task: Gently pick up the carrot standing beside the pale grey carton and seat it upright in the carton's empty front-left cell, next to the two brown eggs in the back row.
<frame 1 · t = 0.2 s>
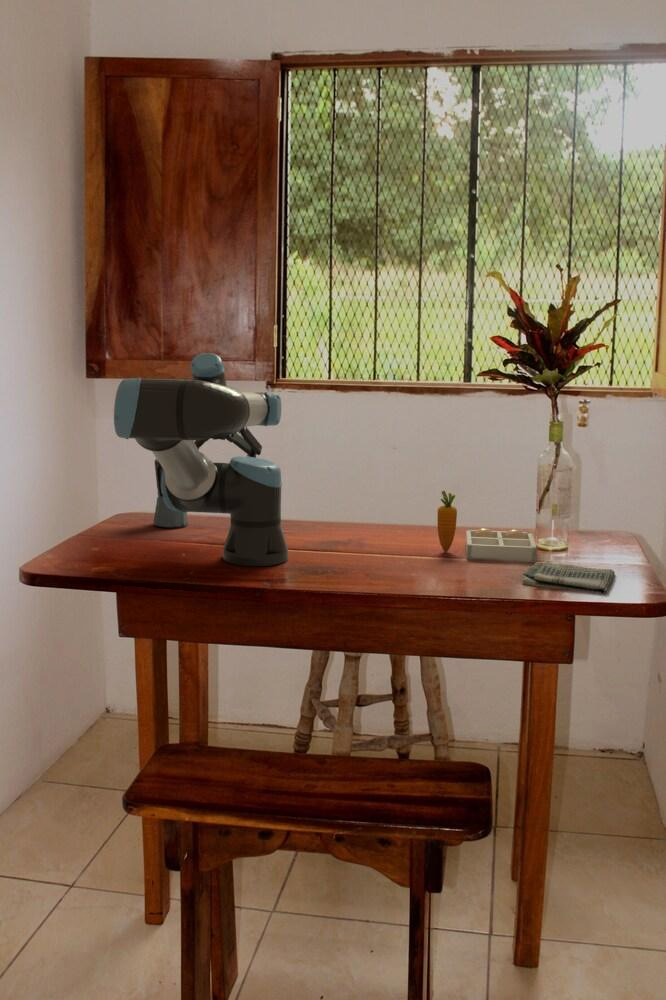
hand: (225, 470, 272), 15 cm above the table, tool tilted 35°, fingers open, 13 cm apart
carton: (499, 552, 255), on the table
brown egg right: (514, 547, 258), resting on carton
dish towel: (568, 583, 232), on the table
carrot: (445, 553, 255), on the table
brown egg left: (483, 546, 259), resting on carton
moka pot: (170, 526, 277), on the table
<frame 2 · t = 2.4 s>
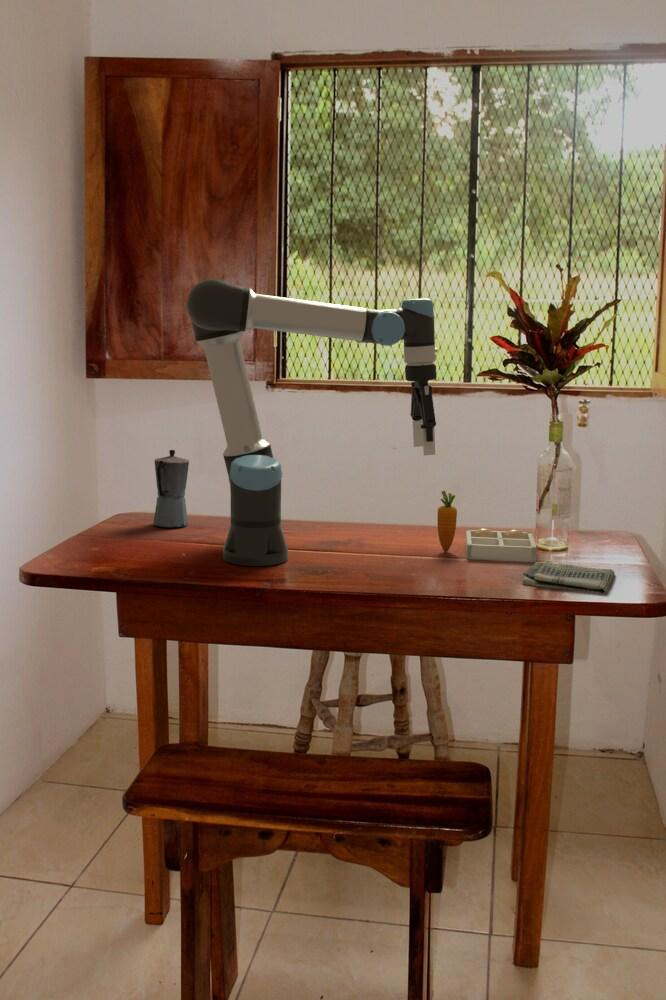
hand: (424, 450, 258), 23 cm above the table, tool pointing down, fingers open, 13 cm apart
nothing on the table moved.
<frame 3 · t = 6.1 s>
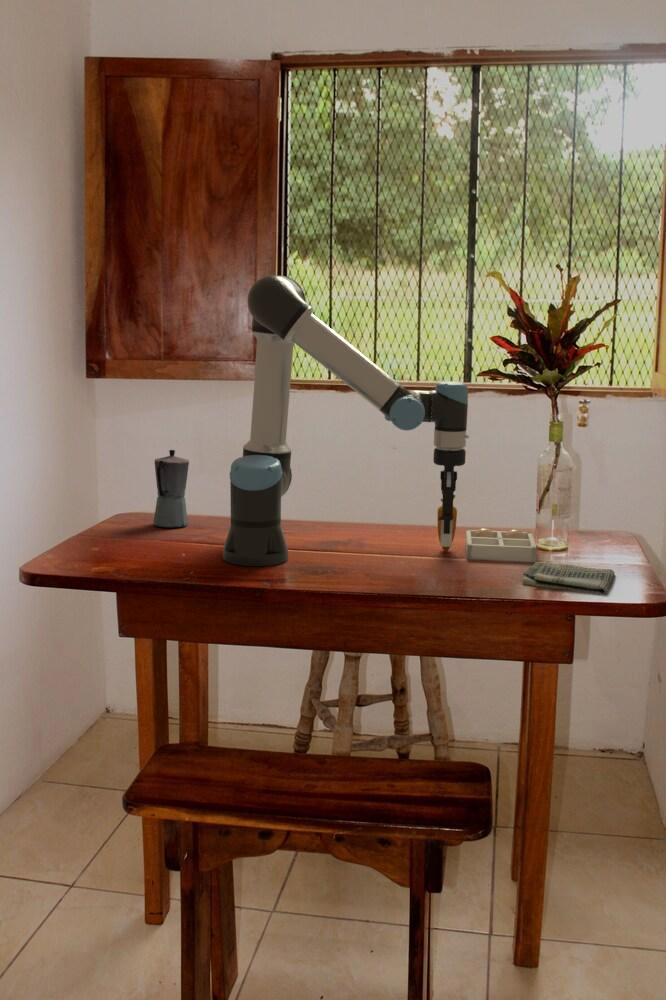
hand: (446, 543, 254), 2 cm above the table, tool pointing down, fingers closed on carrot, 5 cm apart
carrot: (445, 553, 255), on the table, touching gripper
everything else where it was.
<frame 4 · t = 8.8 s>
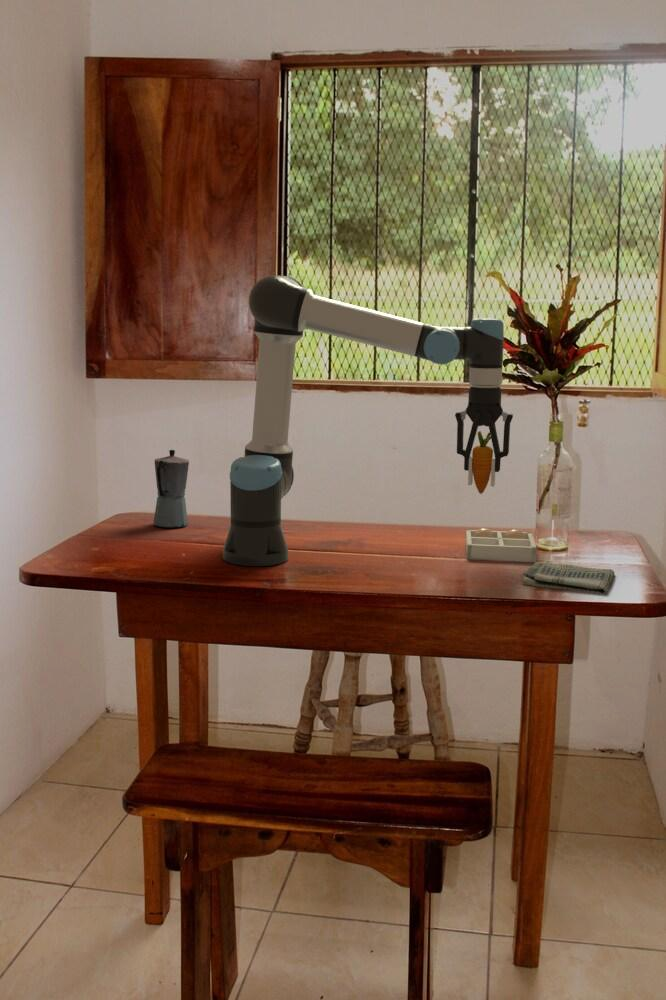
hand: (481, 484, 249), 17 cm above the table, tool pointing down, fingers closed on carrot, 5 cm apart
carrot: (481, 494, 250), point 15 cm above the table, touching gripper
everything else where it was.
when the fingers open (5 cm above the table, at t = 11.8 s): carrot drops 2 cm, resting on carton.
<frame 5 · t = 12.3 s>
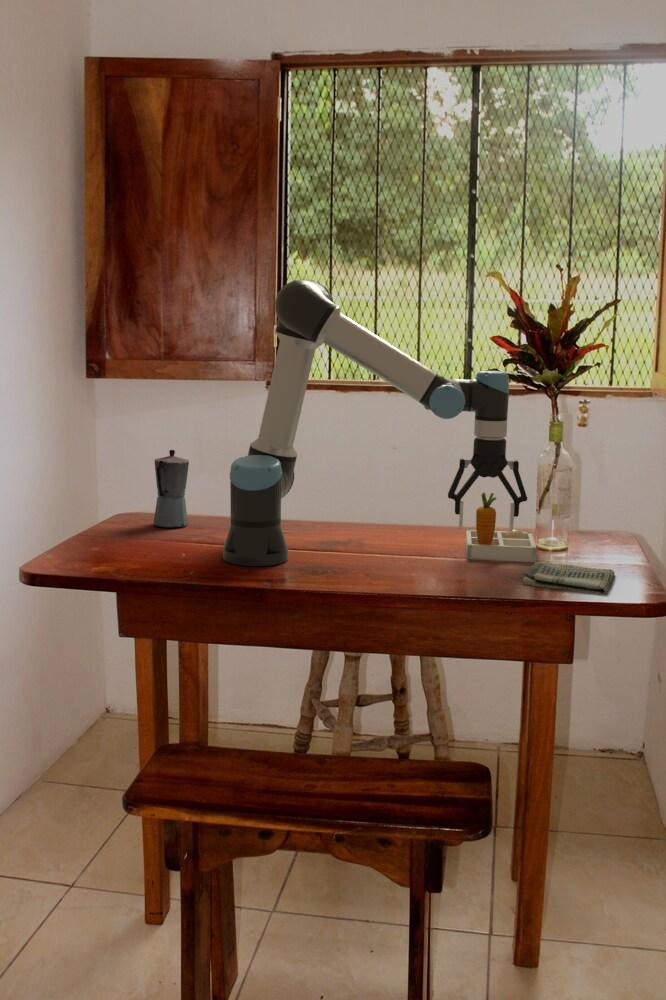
hand: (485, 528, 251), 7 cm above the table, tool pointing down, fingers open, 11 cm apart
carrot: (484, 554, 252), resting on carton
everything else where it was.
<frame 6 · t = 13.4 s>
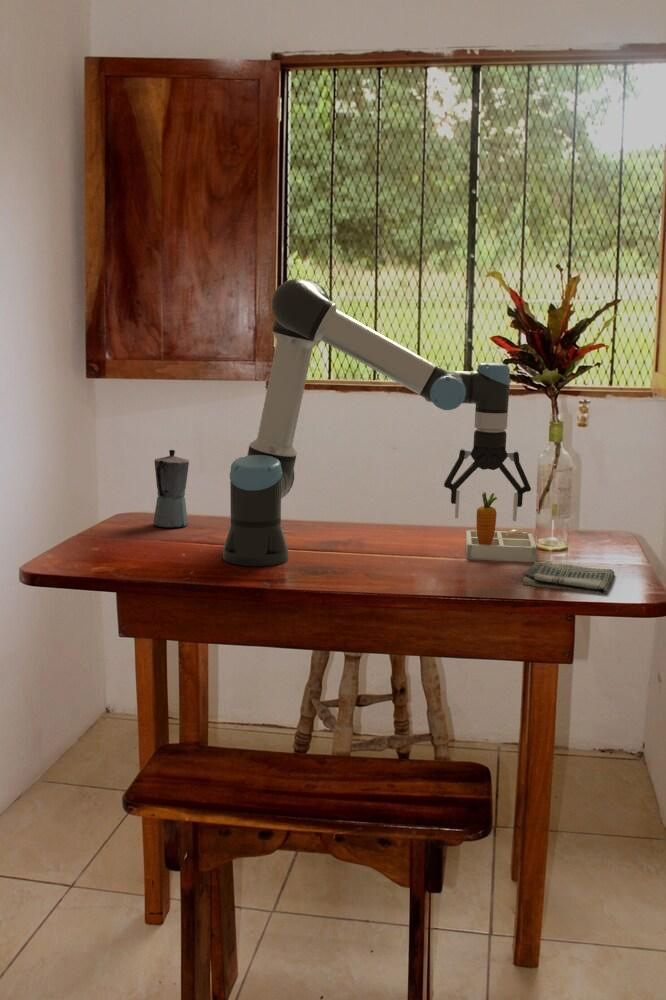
hand: (485, 518, 250), 9 cm above the table, tool pointing down, fingers open, 13 cm apart
nothing on the table moved.
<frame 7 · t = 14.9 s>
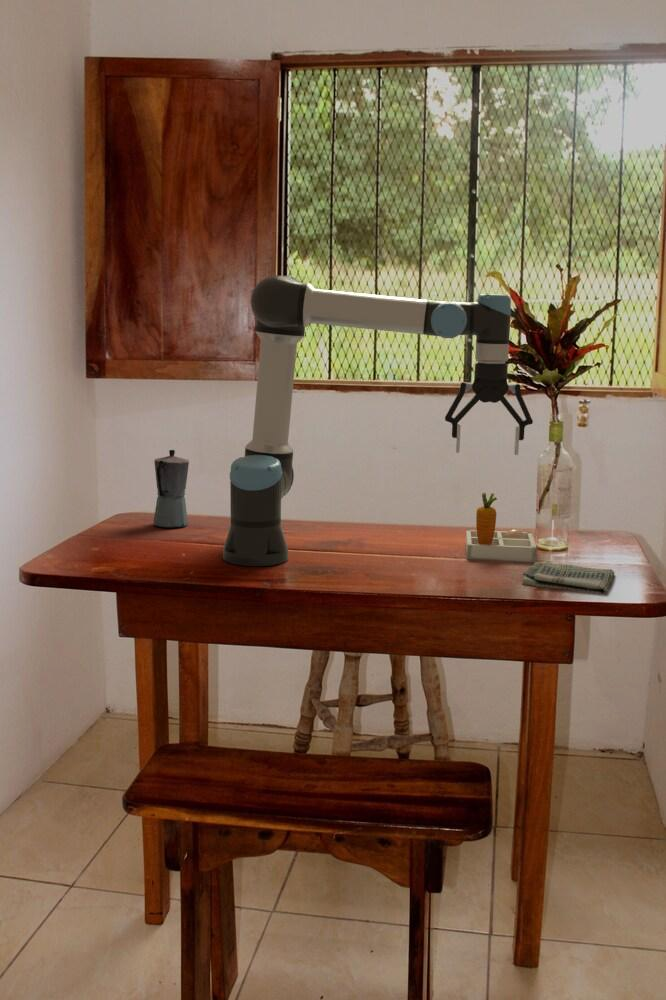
hand: (486, 453, 247), 25 cm above the table, tool pointing down, fingers open, 13 cm apart
nothing on the table moved.
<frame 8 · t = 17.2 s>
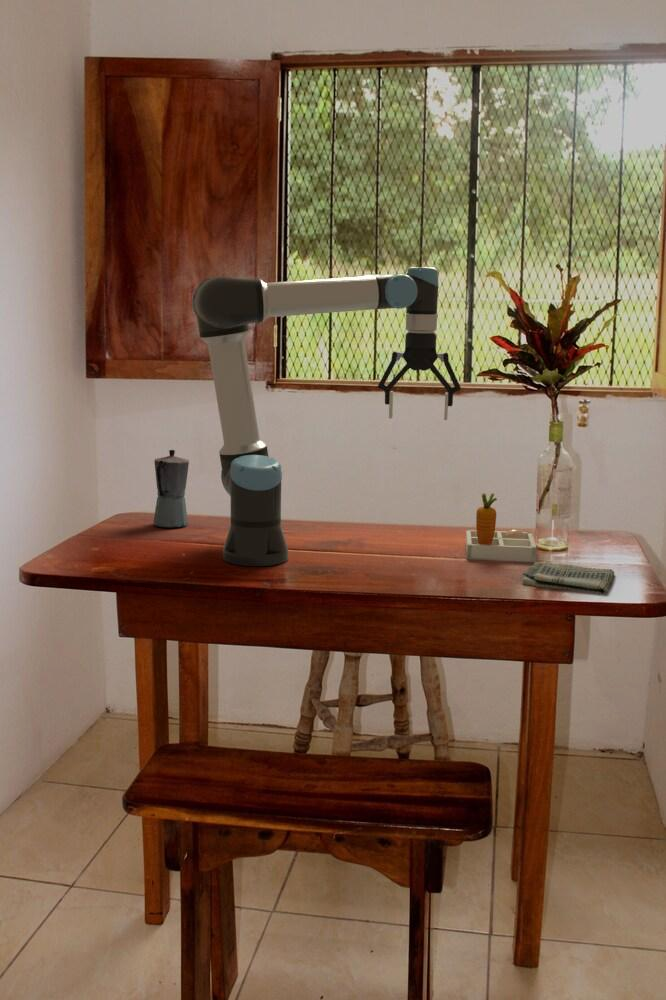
hand: (418, 418, 261), 31 cm above the table, tool pointing down, fingers open, 13 cm apart
nothing on the table moved.
at the end: carrot 0.2 cm from the target spot on the carton, point 0.3 cm above the carton's base; carrot tilted 1°; the gripper is holding nothing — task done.
